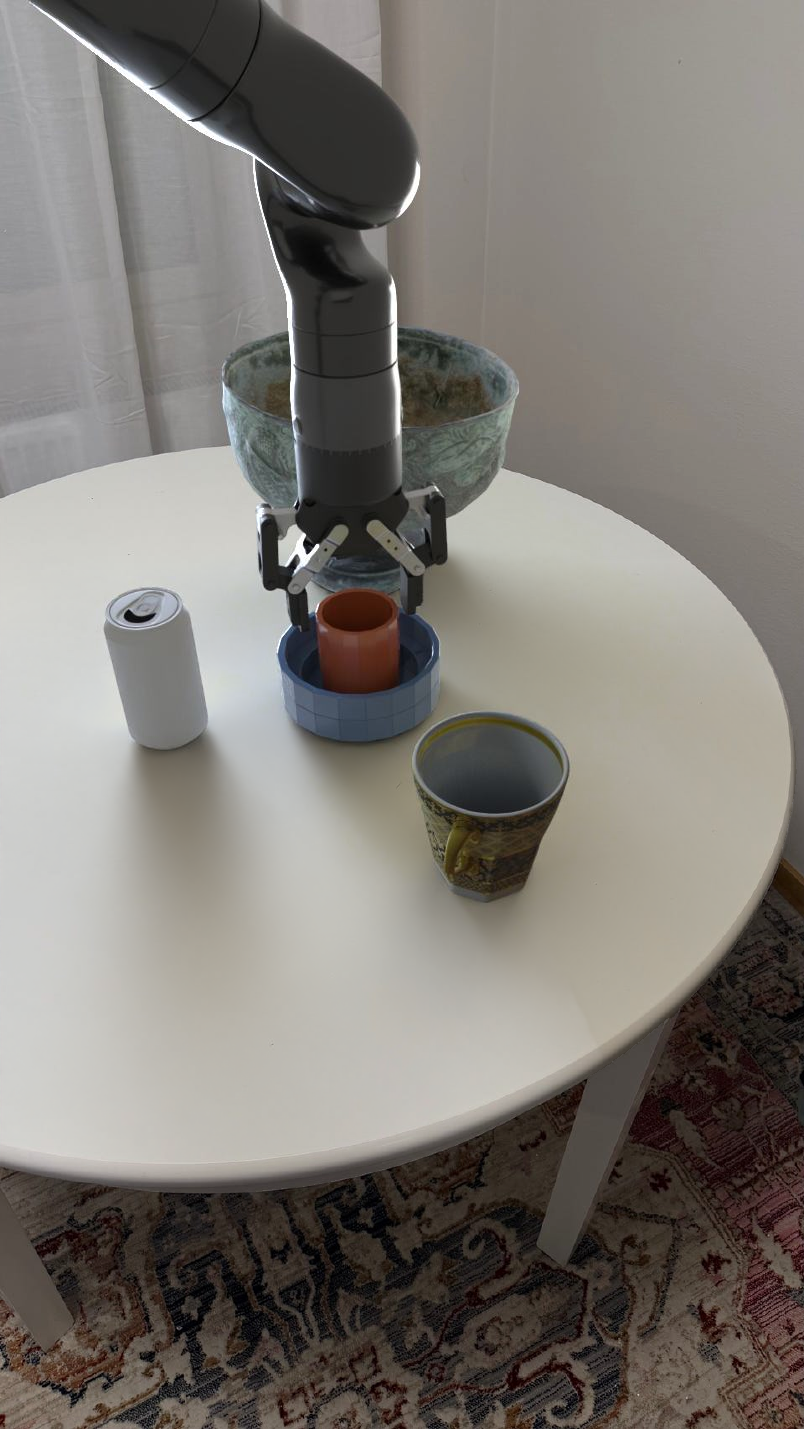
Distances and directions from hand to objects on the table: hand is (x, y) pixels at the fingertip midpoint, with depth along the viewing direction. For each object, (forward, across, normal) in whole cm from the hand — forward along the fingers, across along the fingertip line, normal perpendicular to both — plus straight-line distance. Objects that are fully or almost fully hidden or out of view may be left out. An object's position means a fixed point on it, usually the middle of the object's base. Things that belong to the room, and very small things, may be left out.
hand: (356, 618), depth 80 cm
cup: (+7, 0, 0) cm, 7 cm away
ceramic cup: (+8, -3, +22) cm, 24 cm away
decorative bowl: (+8, -6, -21) cm, 23 cm away
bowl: (+8, 0, 0) cm, 8 cm away
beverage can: (+8, +16, 0) cm, 18 cm away
